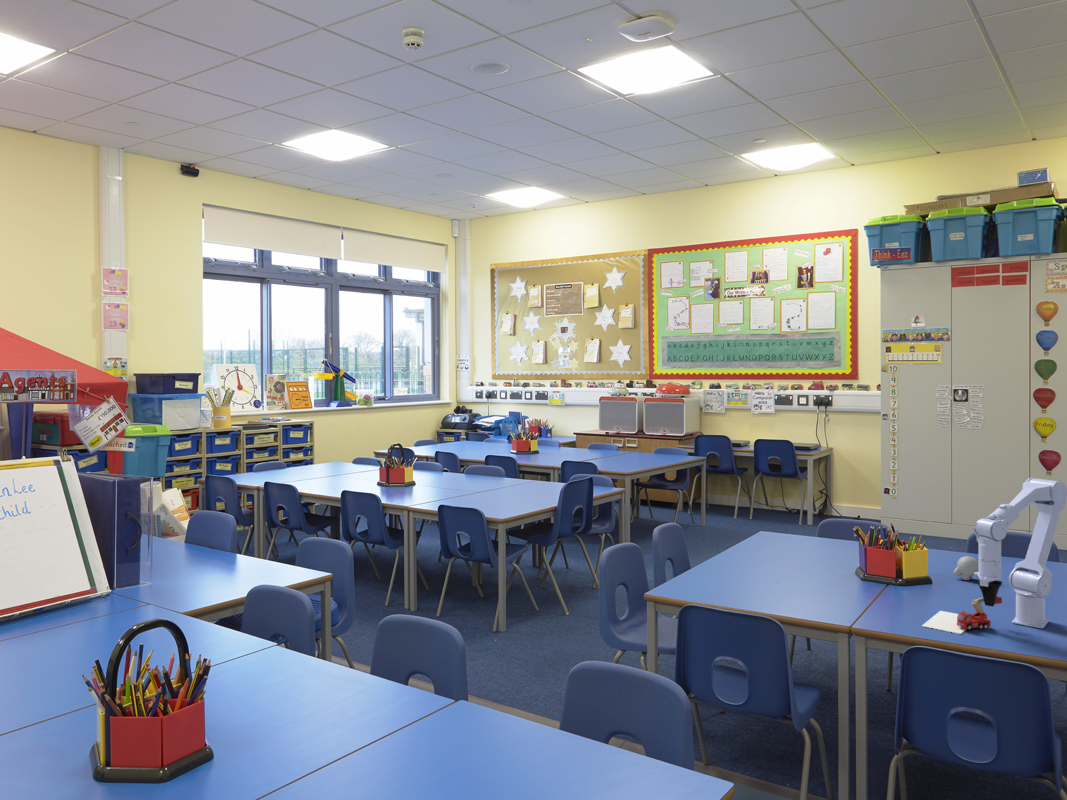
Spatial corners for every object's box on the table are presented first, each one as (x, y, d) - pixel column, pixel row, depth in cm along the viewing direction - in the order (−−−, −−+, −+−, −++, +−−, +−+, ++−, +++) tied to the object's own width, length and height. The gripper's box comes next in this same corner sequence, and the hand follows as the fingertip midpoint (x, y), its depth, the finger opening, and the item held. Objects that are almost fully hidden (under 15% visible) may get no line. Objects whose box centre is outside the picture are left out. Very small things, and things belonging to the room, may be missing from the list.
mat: (940, 611, 239) (940, 610, 239) (977, 618, 231) (977, 617, 231) (921, 626, 225) (921, 625, 225) (960, 634, 218) (960, 633, 218)
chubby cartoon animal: (982, 592, 268) (992, 572, 265) (949, 573, 276) (958, 554, 273) (989, 587, 273) (999, 568, 270) (956, 570, 281) (965, 550, 278)
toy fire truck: (954, 626, 223) (956, 594, 223) (991, 624, 227) (992, 592, 226) (964, 630, 220) (965, 597, 220) (1000, 628, 223) (1002, 595, 223)
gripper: (980, 553, 228) (980, 597, 229) (968, 562, 218) (967, 608, 218) (1007, 556, 223) (1007, 601, 224) (995, 566, 213) (995, 613, 213)
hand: (989, 605), depth 221 cm, fingers closed
